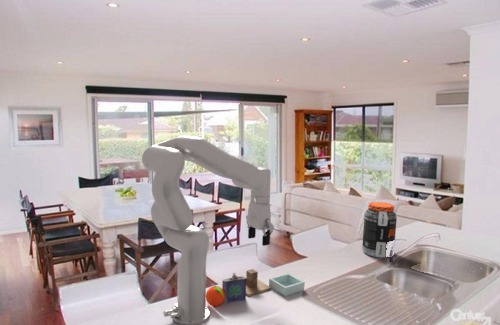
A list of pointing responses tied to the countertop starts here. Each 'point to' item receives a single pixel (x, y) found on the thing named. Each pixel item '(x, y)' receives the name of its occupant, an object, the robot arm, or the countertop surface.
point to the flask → (234, 288)
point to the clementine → (215, 296)
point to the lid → (254, 283)
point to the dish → (286, 284)
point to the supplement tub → (378, 228)
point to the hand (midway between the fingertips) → (258, 241)
